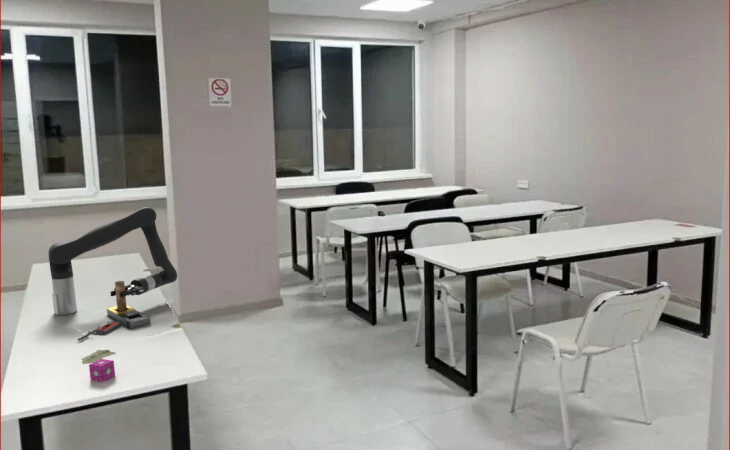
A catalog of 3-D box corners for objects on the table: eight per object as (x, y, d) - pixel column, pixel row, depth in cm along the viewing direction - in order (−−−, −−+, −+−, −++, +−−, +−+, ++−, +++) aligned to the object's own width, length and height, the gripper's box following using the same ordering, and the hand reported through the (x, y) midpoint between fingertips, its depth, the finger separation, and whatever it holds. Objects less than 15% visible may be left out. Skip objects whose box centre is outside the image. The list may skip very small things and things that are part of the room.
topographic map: (71, 364, 228) (71, 360, 228) (98, 350, 240) (98, 346, 240) (100, 370, 223) (100, 365, 223) (126, 355, 236) (126, 351, 236)
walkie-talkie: (106, 327, 270) (76, 343, 251) (105, 317, 269) (75, 332, 250) (124, 327, 268) (95, 344, 249) (123, 318, 268) (94, 333, 248)
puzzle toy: (90, 380, 212) (88, 364, 211) (102, 373, 218) (101, 358, 217) (103, 382, 210) (101, 366, 209) (115, 375, 216) (113, 360, 215)
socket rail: (128, 332, 261) (127, 322, 261) (105, 317, 282) (104, 308, 281) (153, 325, 268) (152, 316, 268) (128, 312, 289) (128, 303, 288)
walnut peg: (119, 317, 278) (116, 283, 275) (116, 316, 280) (113, 282, 278) (128, 316, 280) (125, 281, 278) (125, 314, 283) (122, 280, 281)
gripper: (130, 276, 294) (102, 285, 278) (154, 278, 288) (127, 287, 272) (132, 291, 295) (104, 301, 279) (155, 294, 289) (128, 304, 274)
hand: (115, 294), depth 276 cm, fingers open, 4 cm apart
